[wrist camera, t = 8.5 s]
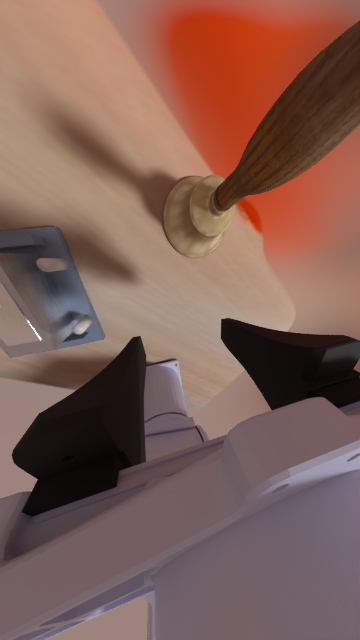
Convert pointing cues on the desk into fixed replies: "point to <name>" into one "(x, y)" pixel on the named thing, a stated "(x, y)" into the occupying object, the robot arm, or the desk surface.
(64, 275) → the grey peg stand
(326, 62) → the hand bell
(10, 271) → the block
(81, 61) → the desk surface
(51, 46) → the desk surface
